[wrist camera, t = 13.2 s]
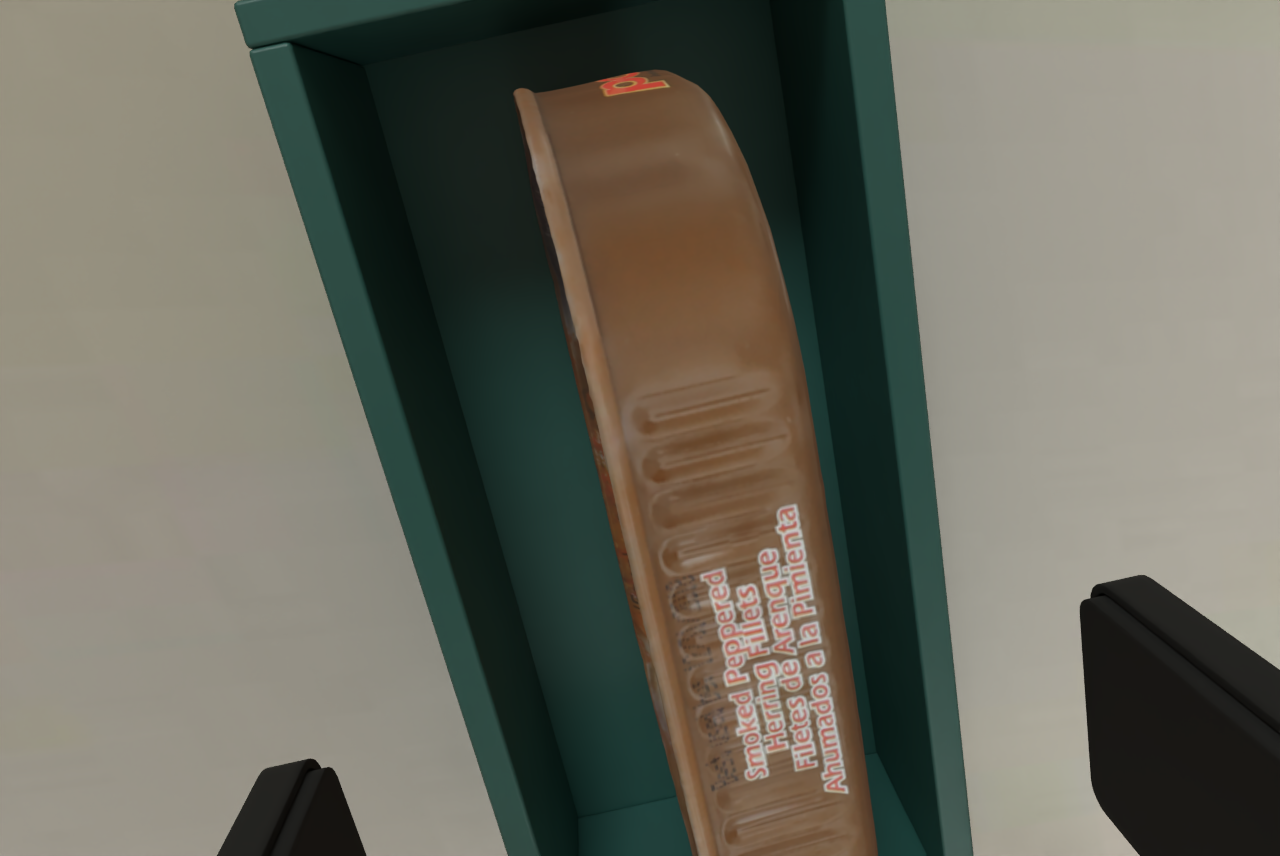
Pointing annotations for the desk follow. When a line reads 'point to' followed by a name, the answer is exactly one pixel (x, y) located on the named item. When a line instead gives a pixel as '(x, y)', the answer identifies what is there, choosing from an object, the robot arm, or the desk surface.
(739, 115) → the box
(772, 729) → the tin
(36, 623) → the desk surface
